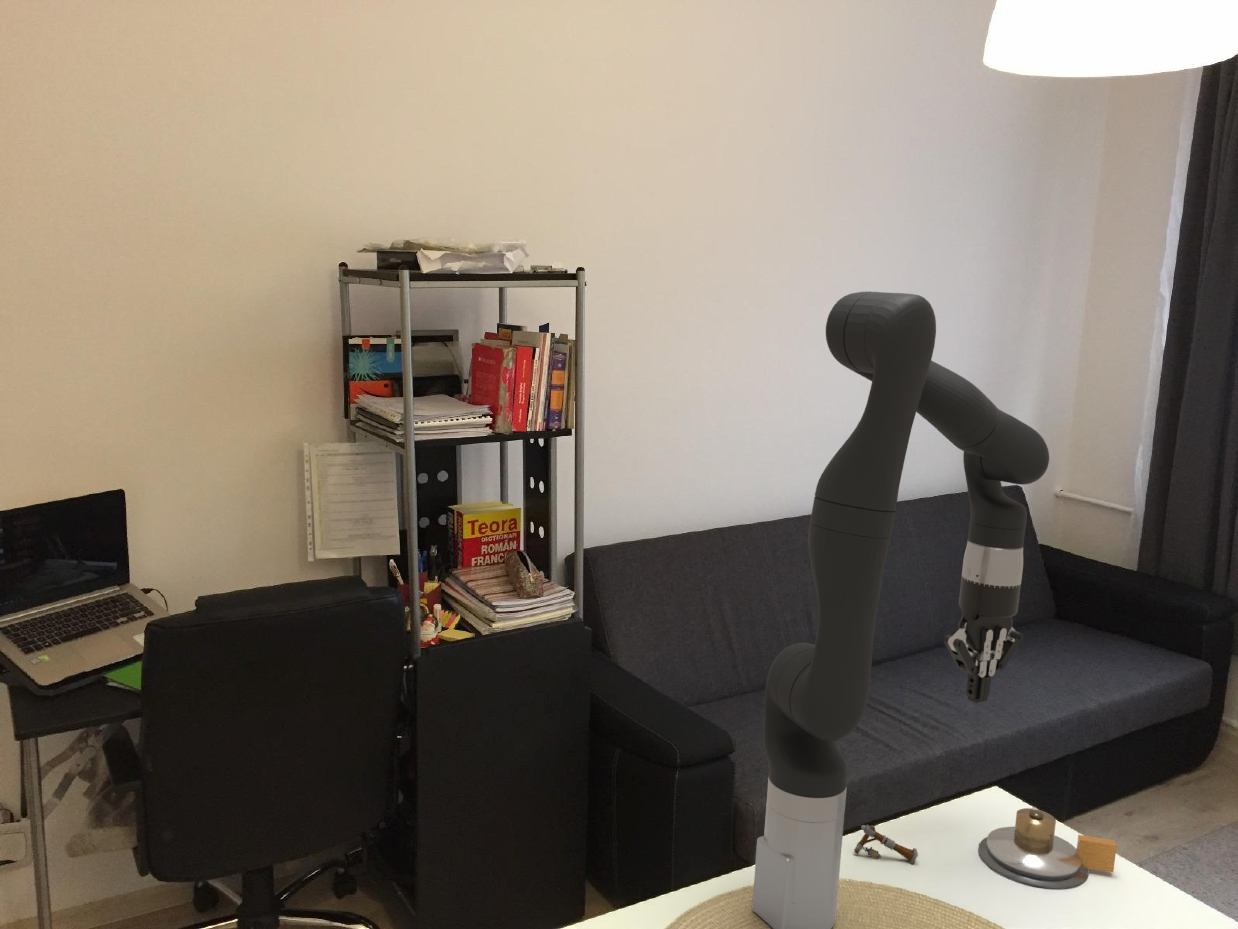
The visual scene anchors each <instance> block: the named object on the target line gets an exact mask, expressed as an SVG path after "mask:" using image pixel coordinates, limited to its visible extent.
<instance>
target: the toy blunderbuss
mask: <svg viewBox="0 0 1238 929" xmlns="http://www.w3.org/2000/svg"><path fill="white" fill-rule="evenodd" d="M860 828H861V830H862V831H863V834H864V835H863V836H862V838H861V839H860V841H858V843H857V844H856V846H855V848H854V850H853V851H854V853H855V854H856V855H859V853H860V852H861V851H862V850H863V851H865V853H867V857H871V858H873V859H874V860H877V859H881V858H882V855H881V854H880V853H879V850H876V849H874V848H873V846H870V847H867V846H865V845H866V844H869V843H871V842H874V841H878V842H880V845H883V846H884V847H886V848H887V849H890V850H891V851H894V852H896V853H898V854H900V856H902V857H904V858H905V859H906V860H907V861H908V864H909V865H910V866H911V865H913V864H914V863H915V862H916V859H917V858H918V857H919V853H918V849H917V848H915V847H913V849H911V848H908V847H906V846H903V845H901V844H898V843H896V842H895V840H893V839H891V838H890V837H889V836H886V835H885V834H881V833H880V832H879V831H877V830H876V827H875V825H869V824H866V825H865V824H862V825H861V827H860ZM864 846H865V847H864Z"/></svg>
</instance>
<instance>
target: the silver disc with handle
mask: <svg viewBox="0 0 1238 929" xmlns="http://www.w3.org/2000/svg"><path fill="white" fill-rule="evenodd" d="M1014 833H1015V826H1004V827H998V828H995V829H994V830H991V831H990V833H989V834H988V835H987V836H986V837H987V845H986V849H987V852H988V854H989V855H990V856H991V857H992V858H993V859H994V860H995V861H996V862H997V863H999V864H1000V865H1002V866H1003V867H1005V868H1007V869H1009V870H1011V871H1014V872H1016V873H1019V874H1022V875H1025V876H1029V877H1033V878H1037V879H1044V880H1063V879H1068V878H1072V877H1074V876H1076V875H1077V874H1078V873H1079V872H1080V868H1081V867H1083V868H1088V870H1089V869H1091V870H1097V871H1103V872H1109V873H1114V869H1115V862H1116V856H1117V855H1116V854H1117V844H1116V840H1114V839H1107V838H1101V837H1096V836H1094V837H1093V836H1088V835H1083V834H1078V835H1077V843H1076V847H1075V846H1074V845H1073V844H1072V843H1070V842H1068V841H1067V840H1065V839H1064V838H1061V837H1059V836H1058V835H1056V834H1054V842H1053V850H1052V851H1051V852H1049V853H1045V854H1038V853H1032V852H1029V851H1026V850H1023V849H1021V848H1020V847H1018V846H1017V845H1016V844H1015V843H1014Z"/></svg>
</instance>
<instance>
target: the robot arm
mask: <svg viewBox="0 0 1238 929" xmlns="http://www.w3.org/2000/svg"><path fill="white" fill-rule="evenodd" d="M936 336H937V320H936V315H935V311H934V308H933V307H932V305H931V302H929V301H928V300H927V299H926V298H925V297H923V296H922V295H918V294H914V293H904V292H902V293H901V292H880V291H859V292H858V291H857V292H851V293H849V294H847V295H845V296H843V297H841V298H840V299H838V300H837V301H836V303H835V304H834V305H833V307H832V308H831V310H830V311H829V314H828V317H827V319H826V324H825V339H826V340H825V341H826V344H827V347H828V349H829V352H830V354H831V355H832V357H833V358H834V359H835V360H836V361H837V362H838V363H839V364H840V365H842V366H844V367H845V368H847V369H848V370H850V371H852V372H854V373H855V374H858V375H860V376H861V377H863V378H865V379H867V380H868V381H871V386H870V388H869V393H868V397H867V401H866V404H865V408H864V411H863V413H862V415H861V417H860V420H859V421H858V423H857V425H856V427H855V429H854V430H853V431H852V433H850V435H849V437H848V438H847V439H846V441H844V443H843V444H842V446H841V447H840V448H839V449H838V450H837V452H836V453H835V454H834V456H833V457H832V458H831V460H830V461H829V462H828V463H827V465H826V466H825V468H824V470H823V472H822V473H821V475H820V477H819V479H818V482H817V483H816V484H817V485H816V488H815V493H814V497H813V504H812V510H811V513H810V514H811V515H810V520H809V525H808V535H807V537H808V538H807V539H808V540H807V541H808V552H809V554H808V555H809V560H810V567H811V571H812V572H811V574H812V577H813V582H814V586H815V592H816V598H817V608H818V609H817V611H818V618H817V619H818V620H817V629H816V630H817V631H816V636H815V642H814V644H813V643H808V642H798V643H794V644H791V645H789V646H787V647H785V648H784V649H783V650H782V651H780V652H779V654H778V655H777V656H776V657H775V659H773V662H772V663H771V666H770V669H769V672H768V674H767V679H766V683H765V692H764V693H765V695H764V721H763V725H764V726H763V727H764V728H763V729H764V730H763V747H764V752H765V756H766V760H767V763H768V780H767V781H768V782H767V790H766V792H767V795H766V804H765V806H766V807H765V819H764V820H765V821H764V834H763V835H762V836H759V837H758V838H757V839H756V850H755V864H754V878H753V880H754V881H753V890H752V892H753V893H752V894H753V895H752V904H751V905H752V908H751V909H752V911H753V912H754V913H755V914H757V915H758V916H759V917H760V918H761V919H762V920H763V921H764V922H766V923H767V924H768V925H769V926H770V927H771V928H772V929H832V928H833V927H834V926H835V924H836V918H837V917H836V916H837V906H838V897H839V896H838V895H839V894H838V893H839V883H840V882H839V880H840V869H841V857H842V845H843V836H844V835H843V833H844V824H845V811H846V810H845V809H846V801H847V800H846V798H847V786H848V776H849V775H848V772H849V769H848V764H847V761H846V759H845V757H844V755H843V753H842V752H841V750H840V748H839V746H838V744H837V741H840V740H843V739H845V738H846V737H848V736H849V735H850V734H851V733H853V731H854V730H856V728H857V726H858V725H859V723H860V721H861V720H862V718H863V715H864V713H865V711H866V707H867V705H868V704H867V703H868V699H869V694H870V686H871V678H872V677H871V675H872V674H871V673H872V660H873V650H874V648H873V647H874V638H875V637H874V636H875V627H876V621H877V619H876V618H877V614H878V613H877V612H878V606H879V600H880V595H881V589H882V584H883V576H884V570H885V565H886V558H887V554H888V550H889V547H890V542H891V537H892V532H893V528H894V524H895V523H894V521H895V516H896V510H897V505H898V504H897V503H898V497H899V491H900V490H899V489H900V485H901V480H902V475H903V470H904V465H905V460H906V454H907V450H908V445H909V443H910V442H909V441H910V436H911V433H912V432H911V431H912V429H913V425H914V420H915V419H916V418H915V417H916V414H917V413H918V415H920V417H922V418H923V419H925V420H926V421H927V422H928V423H929V424H930V425H931V426H933V427H934V428H935V429H936V430H937V431H938V432H939V433H940V434H941V435H942V436H943V437H944V438H946V439H947V440H948V441H949V442H950V443H951V444H953V446H955V447H956V448H957V449H959V450H961V451H963V455H962V456H963V461H962V462H963V470H964V474H965V482H966V488H967V494H968V501H969V506H970V516H969V517H970V518H969V526H968V534H967V542H966V548H965V551H964V555H963V560H962V562H963V563H962V572H961V577H960V578H961V580H960V588H959V596H958V606H959V607H960V609H961V611H962V616H961V618H960V620H959V622H958V630H957V631H955V633H954V634H952V635H950V634H947V635H945V636H944V638H943V642H944V645H945V647H946V648H947V651H949V654H950V655H951V658H952V659H953V662H954V664H955V665H956V667H957V668H958V669H960V670H962V671H965V672H966V673H967V683H966V696H967V699H968V700H970V701H971V702H973V703H976V704H982V703H987V701H988V698H989V695H990V689H991V684H992V683H991V681H992V677H993V676H994V675H995V673H996V671H998V670H999V671H1003V670H1005V668H1006V666H1007V665H1008V663H1010V660H1011V658H1012V657H1013V656H1014V655H1015V653H1016V651H1017V649H1018V648H1019V646H1020V644H1021V643H1022V642H1023V640H1024V633H1021V632H1019V631H1016V629H1015V628H1014V627H1013V624H1014V623H1013V622H1014V620H1013V618H1012V617H1014V616H1016V615H1017V613H1018V611H1019V604H1020V595H1021V587H1022V579H1023V570H1024V544H1025V535H1026V534H1025V533H1026V526H1027V520H1028V519H1027V518H1028V517H1027V516H1028V515H1027V514H1028V511H1027V509H1026V506H1024V505H1023V504H1022V503H1020V502H1019V501H1017V500H1014V499H1012V498H1011V497H1009V496H1008V495H1007V494H1005V491H1004V490H1003V487H1002V483H1001V482H1004V483H1009V484H1014V485H1030V484H1032V483H1035V482H1037V481H1038V480H1039V479H1042V477H1043V476H1044V474H1045V473H1046V472H1047V470H1048V467H1049V463H1050V452H1049V448H1048V446H1047V443H1046V441H1045V439H1044V438H1043V436H1042V435H1041V434H1040V433H1039V432H1038V431H1037V430H1036V429H1034V428H1032V426H1030V425H1028V424H1026V423H1025V422H1023V421H1022V420H1019V419H1018V418H1016V417H1014V416H1013V415H1011V414H1009V413H1007V412H1004V411H1003V410H1001V409H999V408H998V407H997V406H996V404H994V403H993V402H992V401H991V399H990V398H988V396H987V395H986V394H985V393H984V392H983V391H981V389H979V387H977V386H976V385H975V384H974V383H972V382H971V381H969V380H968V379H966V378H965V377H963V376H961V375H959V374H958V373H956V372H954V371H953V370H950V369H949V368H947V367H945V366H943V365H942V364H939V363H937V362H936V361H933V360H932V358H933V354H934V350H935V344H936Z"/></svg>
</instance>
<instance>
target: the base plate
mask: <svg viewBox="0 0 1238 929" xmlns="http://www.w3.org/2000/svg"><path fill="white" fill-rule="evenodd" d="M987 837H988V836H986V837H983V839H982V840H981V841H980V842H979V844H978V850H977V852H978V856H979V857H980V859H981V861H982V863H984V864H985V865H986V866H987V867H988V868H989V869H991V870H993V871H994V872H995V873H997V874H999V875H1001V876H1002V877H1004V878H1006V879H1008V880H1011V881H1014V882H1016V883H1020V884H1023V885H1026V886H1030V887H1035V888H1039V889H1045V890H1067V889H1073V888H1076V887H1077V888H1078V887H1079V886H1082V885H1083V884H1084V883H1086V881H1087V880H1088V877H1089V872H1090V871H1089V868H1083V867H1081V868H1080V872H1079V873H1078V874H1077V875H1076V876H1074V877H1072V878H1068V879H1063V880H1044V879H1037V878H1033V877H1029V876H1025V875H1022V874H1019V873H1016V872H1014V871H1011V870H1009V869H1007V868H1005V867H1003V866H1002V865H1000V864H999V863H997V862H996V861H995V860H994V859H993V858H992V857H991V856H990V855H989V854H988V852H987V849H986V845H987Z"/></svg>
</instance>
